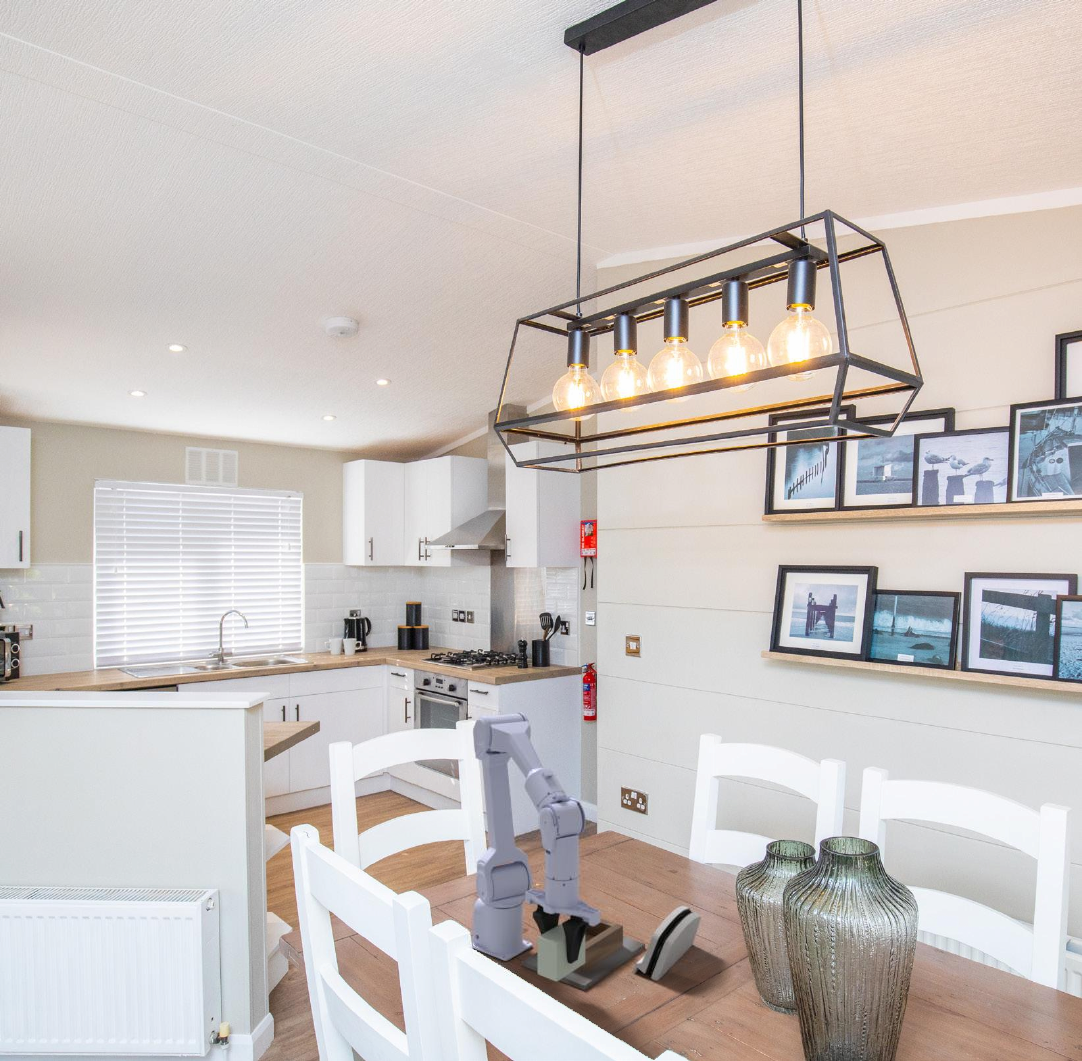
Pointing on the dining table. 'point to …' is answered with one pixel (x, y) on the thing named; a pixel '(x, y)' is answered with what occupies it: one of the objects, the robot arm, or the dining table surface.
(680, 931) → the white black rounded slab
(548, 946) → the pale green block
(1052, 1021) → the dining table surface
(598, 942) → the wooden box frame
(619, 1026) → the dining table surface
